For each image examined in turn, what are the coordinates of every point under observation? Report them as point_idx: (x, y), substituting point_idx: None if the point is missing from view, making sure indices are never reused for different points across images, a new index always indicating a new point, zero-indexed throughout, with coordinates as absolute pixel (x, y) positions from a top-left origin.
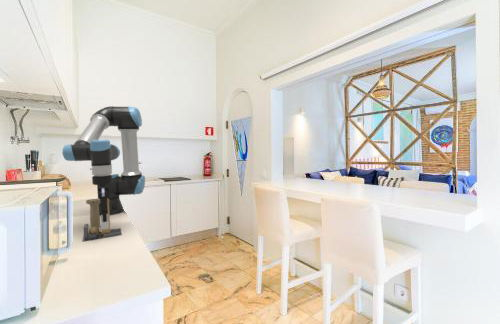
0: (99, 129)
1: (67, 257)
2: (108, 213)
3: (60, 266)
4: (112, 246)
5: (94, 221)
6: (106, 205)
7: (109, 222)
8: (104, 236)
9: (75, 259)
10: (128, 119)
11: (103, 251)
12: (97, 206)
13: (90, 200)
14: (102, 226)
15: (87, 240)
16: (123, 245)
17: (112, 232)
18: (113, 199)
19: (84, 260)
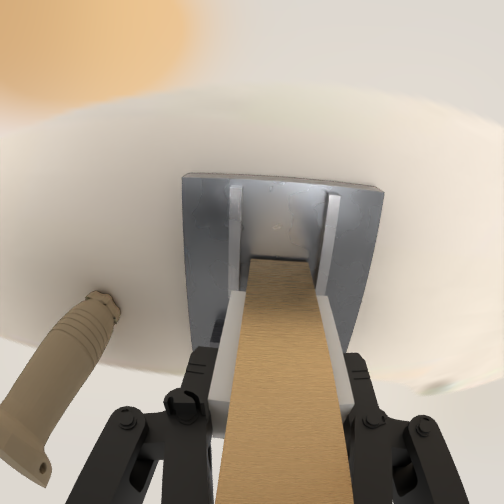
0: None
1: (422, 385)
2: (334, 399)
3: (466, 383)
4: (457, 253)
5: (97, 353)
6: (460, 498)
7: (319, 318)
8: (330, 294)
9: (459, 363)
10: None
11: (476, 290)
12: (28, 411)
13: (25, 474)
14: None
15: None
16: (480, 205)
17: (269, 242)
18: None
19: (487, 340)
